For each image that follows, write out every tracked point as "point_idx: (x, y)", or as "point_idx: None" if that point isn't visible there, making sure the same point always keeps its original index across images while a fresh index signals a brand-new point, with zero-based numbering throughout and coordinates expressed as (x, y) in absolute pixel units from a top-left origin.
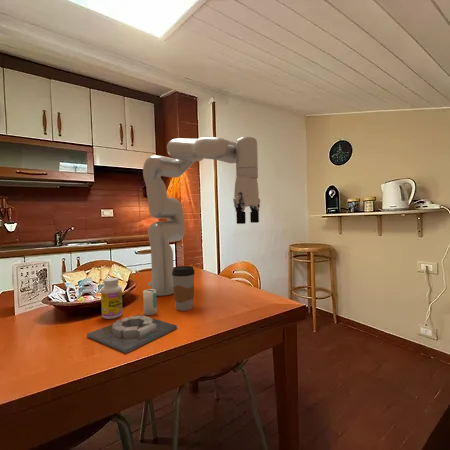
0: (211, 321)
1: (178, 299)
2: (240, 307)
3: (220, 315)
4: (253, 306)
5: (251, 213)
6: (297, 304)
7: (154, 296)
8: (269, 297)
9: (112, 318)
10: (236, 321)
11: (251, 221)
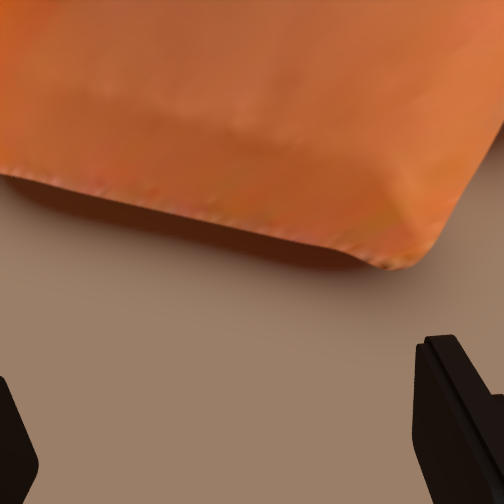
0: (42, 79)
1: None
2: (249, 72)
3: (113, 63)
4: (296, 115)
5: (476, 494)
6: (417, 252)
7: None
8: (461, 103)
9: None
10: (113, 161)
11: (420, 363)
